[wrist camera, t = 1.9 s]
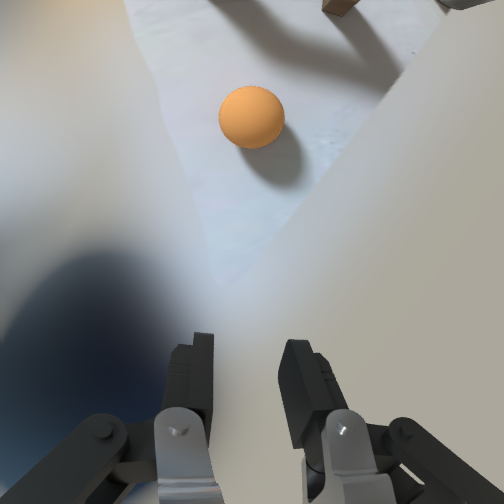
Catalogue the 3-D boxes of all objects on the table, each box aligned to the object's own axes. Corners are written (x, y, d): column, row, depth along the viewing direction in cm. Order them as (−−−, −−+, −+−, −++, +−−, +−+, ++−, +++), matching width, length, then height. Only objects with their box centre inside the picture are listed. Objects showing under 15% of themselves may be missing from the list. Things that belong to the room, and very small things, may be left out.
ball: (252, 80, 22) (258, 67, 17) (290, 123, 24) (305, 119, 19) (207, 117, 23) (203, 111, 18) (246, 159, 25) (251, 164, 20)
